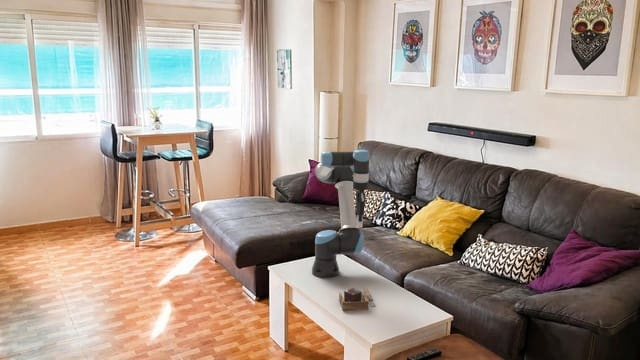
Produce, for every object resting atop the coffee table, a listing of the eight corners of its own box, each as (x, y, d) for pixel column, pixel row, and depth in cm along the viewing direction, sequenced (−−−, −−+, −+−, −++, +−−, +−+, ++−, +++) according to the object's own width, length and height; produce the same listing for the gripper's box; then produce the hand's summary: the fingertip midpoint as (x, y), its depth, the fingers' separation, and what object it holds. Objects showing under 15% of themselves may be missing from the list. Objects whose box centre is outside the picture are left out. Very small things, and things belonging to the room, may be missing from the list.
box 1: (361, 306, 245) (362, 291, 243) (352, 309, 241) (352, 295, 240) (352, 302, 249) (353, 287, 248) (343, 305, 246) (343, 290, 244)
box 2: (338, 300, 251) (339, 292, 250) (363, 299, 252) (363, 291, 251) (342, 310, 240) (342, 302, 239) (368, 309, 241) (368, 301, 240)
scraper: (363, 292, 261) (363, 288, 260) (368, 292, 261) (368, 288, 261) (370, 306, 244) (370, 302, 244) (375, 306, 244) (375, 302, 244)
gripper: (351, 178, 261) (349, 223, 266) (355, 184, 249) (354, 231, 253) (365, 178, 262) (364, 223, 267) (371, 183, 249) (369, 230, 254)
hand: (359, 227), depth 260 cm, fingers closed
